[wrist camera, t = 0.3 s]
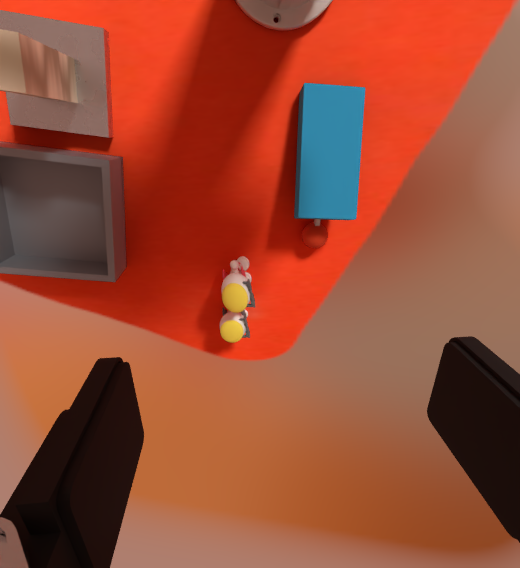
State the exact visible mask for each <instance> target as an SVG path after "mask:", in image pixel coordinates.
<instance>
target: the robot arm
mask: <svg viewBox="0 0 520 568" xmlns="http://www.w3.org/2000/svg"><path fill="white" fill-rule="evenodd" d="M235 1H236V3H237V5H238V6H239V7H240V8H241V9H242V10H243V12H244V13H245V14H246V15H247V16H248V17H250V18H251V19H252V20H253V21H255V22H256V23H258V24H260V25H262V26H264V27H266V28H270V29H274V30H287V31H289V30H293V29H297V28H301V27H303V26H305V25H307V24H309V23H311V22H312V21H313V20H315V19H316V18H317V17H318V16H320V15H321V14H322V12H323V11H324V10H325V9H326V8H327V7H328V6H329V4H330V3H331V2H332V0H235ZM274 18H277V19H278V22H277V23H275V22H274ZM427 414H428V418H429V420H430V422H431V423H432V425H433V426H434V428H435V429H436V431H437V432H438V433H439V435H440V436H441V438H442V439H443V441H444V442H445V443H446V445H447V446H448V448H449V449H450V450H451V452H452V453H453V455H454V456H455V458H456V459H457V461H458V462H459V463H460V465H461V466H462V468H463V469H464V471H465V472H466V473H467V475H468V476H469V478H470V479H471V480H472V482H473V483H474V485H475V486H476V488H477V489H478V491H479V492H480V493H481V495H482V496H483V498H484V499H485V501H486V502H487V504H488V505H489V506H490V508H491V509H492V510H493V512H494V513H495V515H496V516H497V518H498V519H499V521H500V522H501V524H502V525H503V526H504V528H505V529H506V531H507V532H508V533H509V534H510V535H511V536H512V537H513V538H515V539H518V541H519V542H520V374H518V373H517V372H516V371H515V370H514V369H513V368H511V367H510V366H509V365H508V364H506V363H505V362H504V361H503V360H502V359H500V358H499V357H498V356H497V355H496V354H494V353H493V352H492V351H491V350H490V349H488V348H487V347H486V346H485V345H484V344H482V343H481V342H480V341H479V340H478V339H476V338H475V337H455V338H452V339H450V341H449V343H446V344H445V346H444V349H443V353H442V357H441V360H440V364H439V368H438V371H437V375H436V379H435V382H434V386H433V390H432V394H431V397H430V401H429V405H428V408H427ZM143 440H144V431H143V426H142V421H141V416H140V412H139V407H138V402H137V398H136V393H135V388H134V383H133V378H132V373H131V369H130V365H129V363H128V362H123V360H122V359H121V358H120V357H117V358H100V359H98V360H97V361H96V363H95V365H94V367H93V368H92V370H91V372H90V374H89V375H88V378H87V379H86V381H85V382H84V384H83V386H82V388H81V390H80V391H79V393H78V395H77V397H76V398H75V400H74V402H73V404H72V406H71V407H70V409H69V410H65V411H63V412H62V413H61V414H60V415H59V417H58V418H57V420H56V421H55V423H54V425H53V427H52V428H51V430H50V432H49V433H48V435H47V437H46V438H45V440H44V442H43V444H42V445H41V447H40V448H39V450H38V452H37V453H36V455H35V457H34V459H33V460H32V462H31V464H30V465H29V467H28V469H27V470H26V472H25V474H24V476H23V477H22V479H21V481H20V483H19V484H18V486H17V487H16V489H15V491H14V492H13V494H12V496H11V498H10V499H9V501H8V503H7V504H6V506H5V508H4V509H3V511H2V513H1V514H0V568H110V565H111V561H112V557H113V553H114V550H115V546H116V543H117V539H118V535H119V531H120V528H121V524H122V520H123V516H124V513H125V509H126V505H127V501H128V498H129V494H130V490H131V487H132V483H133V479H134V476H135V472H136V468H137V464H138V460H139V457H140V453H141V449H142V445H143Z"/></svg>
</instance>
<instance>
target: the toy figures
mask: <svg viewBox="0 0 520 568" xmlns="http://www.w3.org/2000/svg"><path fill="white" fill-rule="evenodd" d="M230 267H231V272H230V274H229V275H228V276H227V272H226V273H225V270H224V269H223V279H224V280H223V283H222V287H221V293H222V301H223V304H224V305H225V307H226V308H227V309H228V311H227V310H226V309H225V308H224V307H223V317H222V318H221V321H220V334H221V336H222V338H223V339H224V340H225V341H227V342H231V343H234V342H237V341H239V340H240V339H241V338H244V337H248V338H250V331H249V328H248V324H247V320H246V318H247V316H248V312H247V311H246V310H245V308H246V307H255V299H254V295H253V293H252V289H251V280H252V277H251V275H250V274H249V273H247V272H245V271H246V270H247V269H248V267H249V260H248V259H247V258H246V257H244V256H241V257H239V258H238V259H237V260H232V261H231V262H230ZM240 272H242V273H240ZM250 300H251V304H248V303H249V302H250ZM245 332H246V335H244V334H245Z"/></svg>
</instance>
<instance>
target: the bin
mask: <svg viewBox="0 0 520 568" xmlns="http://www.w3.org/2000/svg"><path fill="white" fill-rule="evenodd" d="M126 267H127V265H126V236H125V207H124V179H123V157H119V156H111V155H103V154H95V153H87V152H80V151H72V150H64V149H56V148H48V147H40V146H32V145H24V144H16V143H9V142H1V141H0V273H4V274H17V275H29V276H42V277H55V278H68V279H81V280H93V281H106V282H116V281H117V279H118V278H119V277H120V275H121V274H122V272H123V271H124V270H125V268H126Z"/></svg>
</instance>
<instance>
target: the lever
mask: <svg viewBox="0 0 520 568" xmlns="http://www.w3.org/2000/svg"><path fill="white" fill-rule="evenodd" d="M364 99H365V87H352V86H339V85H326V84H313V83H304V85H303V87H302V89H301V91H300V97H299V114H298V138H297V162H296V186H295V210H294V218H299V219H314V223H310V224H308V225H306V226H305V228H304V229H303V231H302V240H303V242H304V244H305V245H306V246H308V247H310V248H319V247H321V246H323V245H324V244H325V242H326V240H327V238H328V233H327V230H326V228H325V227H324V226H323V225H322V224H320V221H321V219H329V220H354V219H356V215H357V200H358V186H359V171H360V157H361V142H362V128H363V113H364Z"/></svg>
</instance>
